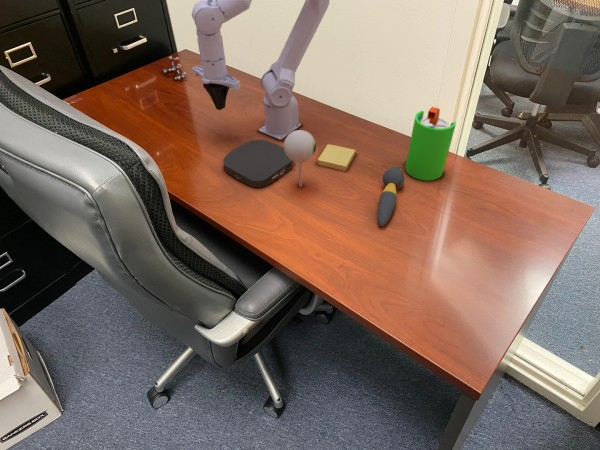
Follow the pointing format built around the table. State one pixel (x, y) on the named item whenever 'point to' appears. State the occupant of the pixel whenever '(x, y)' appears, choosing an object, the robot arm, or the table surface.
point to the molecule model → (175, 69)
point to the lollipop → (299, 148)
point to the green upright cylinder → (429, 145)
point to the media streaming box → (257, 162)
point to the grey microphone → (389, 193)
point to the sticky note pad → (336, 157)
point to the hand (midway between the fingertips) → (220, 108)
